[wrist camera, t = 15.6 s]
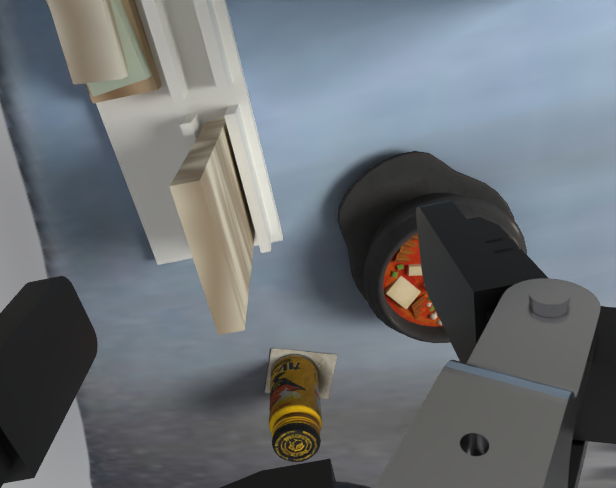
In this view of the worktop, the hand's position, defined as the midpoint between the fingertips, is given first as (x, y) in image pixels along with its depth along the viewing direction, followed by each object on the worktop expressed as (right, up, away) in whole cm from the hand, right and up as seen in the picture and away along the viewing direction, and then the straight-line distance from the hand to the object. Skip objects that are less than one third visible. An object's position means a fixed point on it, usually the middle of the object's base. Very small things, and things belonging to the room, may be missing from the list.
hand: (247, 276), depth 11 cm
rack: (-10, +15, +37) cm, 41 cm away
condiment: (0, -16, +53) cm, 56 cm away
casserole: (+15, +1, +46) cm, 48 cm away
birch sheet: (-6, +7, +39) cm, 40 cm away
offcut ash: (-16, +18, +29) cm, 38 cm away
